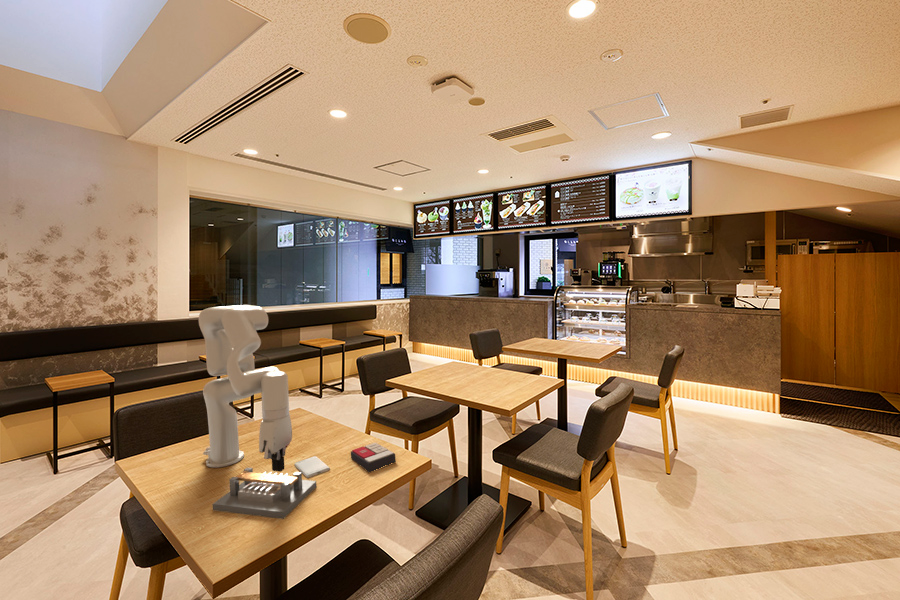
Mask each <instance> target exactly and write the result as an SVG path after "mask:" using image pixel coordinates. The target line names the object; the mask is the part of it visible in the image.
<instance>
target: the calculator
mask: <svg viewBox="0 0 900 600" xmlns="http://www.w3.org/2000/svg"><path fill="white" fill-rule="evenodd" d="M351 458H352V459H353V460H352V459H351ZM350 459H351V460H352V461H354V462H355V463H356V464H358V465H359V466H360V465H361V466H360V467H362V468H363V470H365V469H366V470H367V471H366V470H365V471H366V472H367V473H369V472H370V473H372V472H371V471H373V472H375V471H377V470H376V469H378V470H380V469H379V468H381V467H383V466H385V465H388V466H390V465H389V464H391V463H394V462H396V461H397V460H396V453H395V452H393V451H392V450H389V449H388V448H386V447H384V446H383V445H381V444H379V443H378V442H371V443H370V444H366V445H365V446H360V447H358V448H355V449H351V451H350ZM394 464H395V463H394ZM391 465H392V464H391ZM383 468H384V467H383ZM381 469H382V468H381ZM374 470H375V471H374Z"/></svg>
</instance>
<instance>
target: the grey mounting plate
mask: <svg viewBox="0 0 900 600" xmlns="http://www.w3.org/2000/svg"><path fill="white" fill-rule="evenodd" d="M245 486H246V485H245V484H244V481H243V482H241V483H239V490H241V489H242V488H243V487H245ZM317 487H318V485H317V481H316V480H311V479H309V480H308V479H302V489H301V490H300V491H294V487H293V486H292V487H291V488H290V497H291V499H290V500H289V501H288V502H282V501H281V497H279V498H278V499H277V500H276V501H275V502H274V503H268V502H259V501H250V500H241V499H238V495H237V496H230V491H229V492H227V493H225V494H224V495H223V496H221V497H220V498H219V499H217V500H216V501H214V502H213V503H212V511H214V512H224V513H230V514H240V515H246V516H247V515H248V516H255V517H256V516H257V517H263V518H273V519H281V520H284V519H285V518H286V517H288V515H289V514H290V513H291V512H293V510H294V509H295V508H297V507H298V506H299V504H301V503H302V502H303V501H304V500H305V499H306V498H307V497H308V496H309V495H310V494H311V493H312V492H313V491H314V490H315V489H316V488H317Z"/></svg>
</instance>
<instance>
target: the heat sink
mask: <svg viewBox="0 0 900 600" xmlns="http://www.w3.org/2000/svg"><path fill="white" fill-rule="evenodd" d="M243 471H247V472H252V473H254V471H253V467H248V466H247V467H245V468H244V469H243ZM262 474H272V475H282V476H289V473H285V474H283V472H281V473H279V474H278V472H275V473H273V472H272V471H270V472H268V473H267V471H264V472H263V473H262ZM302 474H303V473H302V472H301V471H300V472H299V471H295V472H294V473H293V474H292V476H293V477H298V480H297V481H296V482H294V483H293V484H292V485H291V486H290V482H283V483H282V484H281V485H280V484H270V483H260V482H251V481H243V482H244V484H245V485H246V486H245V487H243V488H242V489H241V490H239V485H240V480H239V477H236V476H232V477H231V478H229V482H228V483H229V492H230V496H237V495H238V499H241V500H250V501H259V502H268V503H274V502H275V501H276V500H277V499H278V498H279V497H281V501H282V502H288V501H289V500H290V499H291V497H290V488H291V487H292V486H293V487H294V491H300V490H301V489H302V480H303V476H302Z"/></svg>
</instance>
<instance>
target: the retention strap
mask: <svg viewBox="0 0 900 600" xmlns="http://www.w3.org/2000/svg"><path fill="white" fill-rule="evenodd" d="M235 477H239V481H243V482H244V481H251V482H260V483H270V484H280V485H281V484H282V483H283V482H290V486H291V485H292V484H293V483H294V482H296V481H297V480H298V477H293V475H291V476H290V475H288V476H284V475H283V476H282V475H280V474H278V475H274V474H273V473H272V474H269V473H267V474H263V473H261V472H253V473H252V472H247V471H244V470H242V472H241V473H238V475H236V476H235Z"/></svg>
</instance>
